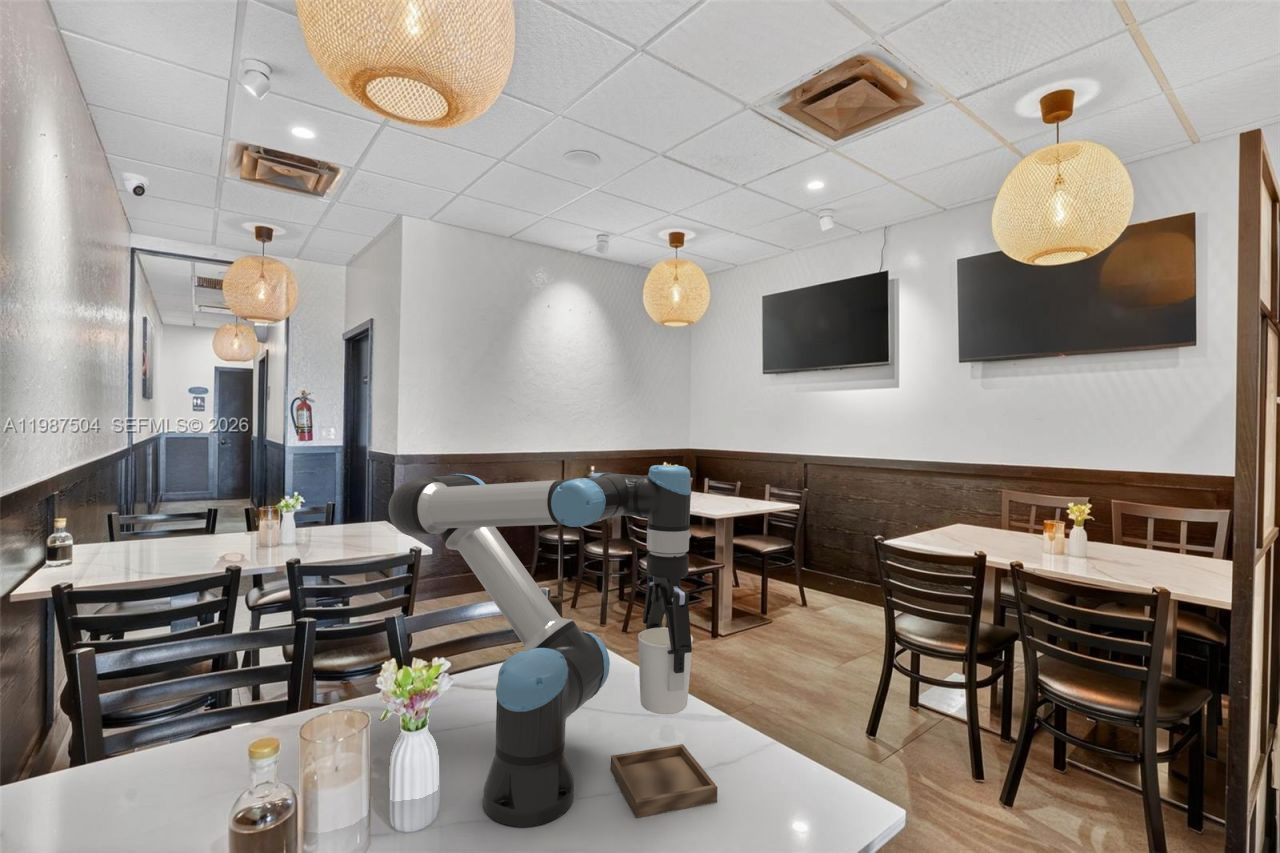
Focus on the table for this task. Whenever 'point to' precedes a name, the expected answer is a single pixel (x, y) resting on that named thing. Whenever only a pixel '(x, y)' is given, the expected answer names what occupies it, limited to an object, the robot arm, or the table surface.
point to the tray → (662, 780)
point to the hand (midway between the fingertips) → (664, 677)
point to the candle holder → (659, 673)
